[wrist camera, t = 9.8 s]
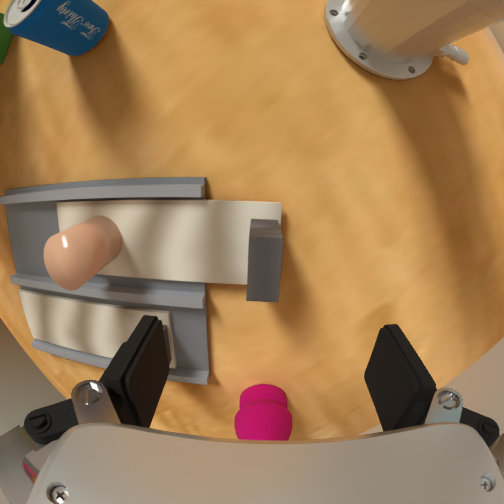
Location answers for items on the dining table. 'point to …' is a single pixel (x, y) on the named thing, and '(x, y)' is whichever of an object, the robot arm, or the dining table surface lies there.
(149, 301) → the track board
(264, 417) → the pepper mill
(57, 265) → the light brown rounded piece
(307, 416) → the dining table surface
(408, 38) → the robot arm
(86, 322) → the strip
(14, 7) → the beverage can
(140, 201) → the strip
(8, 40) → the hardback book
